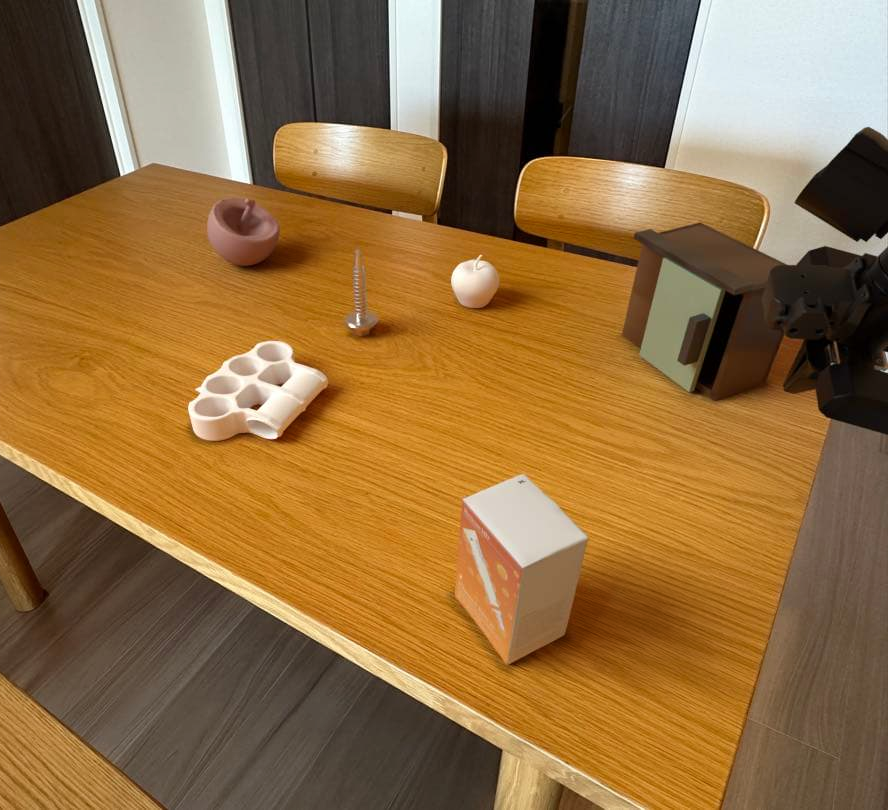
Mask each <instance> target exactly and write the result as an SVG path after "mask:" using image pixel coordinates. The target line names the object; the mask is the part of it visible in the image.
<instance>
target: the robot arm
mask: <svg viewBox="0 0 888 810" xmlns="http://www.w3.org/2000/svg"><path fill="white" fill-rule="evenodd" d="M794 204H795V205H796V206H798V207H800V208H802V209H803V210H805V211H806V212H807V213H809V214H811V215H813V216H814V217H815V218H817V219H819V220H821V221H822V222H824V223H826V224H827V225H829V226H830V227H832V228H834V229H835V230H836V231H838V232H840V233H842V234H843V235H845V236H846V237H848V238H849V239H851V240H853V241H855V242H856V243H858V242H860V241H864V242H865V243H868V242H869V241H870V239H871V238H873V236H875V237H877V238H878V239H880V240H882V239H883V238H884V237H885V236H886V235H887V234H888V138H887V137H886V136H885V135H884V134H882V133H881V132H879V131H878V130H875V129H874V128H872V127H870V126H866V127H863V128H862V129H861V130H859V131H857V132H856V133H855V134H854V135H853V137H852V138H851V139H850V140H849V141H848V143H847V144H846V145H845V146H844V147H843V148H842V149H841V150H840V151H839V152H837V154H836V155H835V156H834V157H833V158H832V159H831V160H830V161H829V162H828V164H826V166H824V167H823V168H822V169H820V170H819V171H818V172H816V173H815V175H813V176H812V178H811V179H810V180H809V181H808V182H807V184H806V185H805V186H804V188H802V190H801V192H800V193H799V194H798V196H797V197H796V199H795V200H794ZM762 302H763V307H764V322H765V324H766V326H767V327H769V328H770V329H773V330H778V331H784V336H785V337H786V338H787V339H791V340H803V341H802V343H801V346H800V348H799V350H798V352H797V354H796V356H795V358H794V360H793V363H792V365H791V367H790V369H789V371H788V373H787V375H786V377H785V378H784V381H783V383H782V388H783V392H784V393H788V394H791V395H797V394H801V393H806V392H810V391H814V390H815V395H816V402H817V408H818V411H819V412H820V413H821V414H822V415H823V416H824V417H825V418H827V419H830V420H834V421H836V422H839V423H840V422H841V423H844V424H847V425H852V426H855V427H859V428H861V429H866V430H869V431H872V432H876V433H878V434H879V433H880V434H883V435H887V436H888V372H887V371H888V358H887V353H888V246H886V248H884V249H883V250H882V252H880V253H879V254H878V255H875V254H871V253H866V252H865V253H863V254H862V255H861V254H858V253H857V254H856V253H853V252H849V251H845V250H842V249H838V248H834V247H831V246H827V245H824V246H820V247H817V248H813V249H809V250H808V251H807V252H805V254H804V256H803V257H801V258H800V260H799V261H798V262H797V263H796V264H787V265H778V266H775V267H773V268H772V269H771V271H770V274H769V277H768V280H767V283H766V286H765V290H764V293H763V296H762Z"/></svg>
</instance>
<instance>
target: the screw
mask: <svg viewBox="0 0 888 810" xmlns="http://www.w3.org/2000/svg"><path fill="white" fill-rule="evenodd" d="M353 253H354V254H353V255H354V257H353V265H352V274H351V275H352V280H353V281H352V284H353V285H352V291H353V306H354V308H353V309H354V311H351V312H349V313H348V314H347V315H345V317H344V320H343V322H344V325H345V327H346V328H348V329H350V330H352V335H354V336H357V337H360V338H362V337H366V336H370V333H371V331H372V329H373V328H374V327H376V326H377V325H378V324H379V317H378V314H376V313H375V312H372V311H370V310H368V305H367V304H368V301H367V300H368V298H367V295H368V294H367V292H368V290H367V278H366V277H367V274H366V272H367V271H366V270H365V269H366V266H365V265H364V259H363V253H362V251H361V249H359V248H357V249H354V250H353Z"/></svg>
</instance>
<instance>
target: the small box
mask: <svg viewBox="0 0 888 810" xmlns="http://www.w3.org/2000/svg"><path fill="white" fill-rule="evenodd" d="M460 511H461V513H460V514H461V515H460V525H459V536H458V552H457V563H456V576H455V585H454V586H455V589H454V597H455V599H456V600H457V602H459V603H460V604H461V606H462V607H463V608H464V610H465V611H466V612H467V614H468V615H469V616H470V617H471V619H472V620H473V621H474V623H475V624H476V625H477V626H478V628H479V629H480V630H481V632H482V633H483V635H484V636H485V638H487V640H488V641H489V643H490V644H491V646H492V647H493V648H494V649H495V651H496V653H497V654H498V655H499V657H500V658H501V659H502V661H503V662H504V663H505V665H507V666H509V665H511V664H513V663H514V662H516V661H518V660H520V659H522V658H524V657H525V656H528V655H529V654H531V653H533V652H535V651H537V650H539V649H541V648H543V647H545V646H547V645H549V644H550V643H552V642H554V641H556V640H558V639H560V638H562V637H564V636H565V635H566V631H567V627H568V623H569V620H570V616H571V612H572V608H573V604H574V600H575V596H576V591H577V587H578V583H579V579H580V575H581V572H582V571H581V570H582V567H583V563H584V559H585V555H586V551H587V547H588V544H589V539H590V538H589V536H588V535H587V533H585V531H584V530H583V529H581V527H580V526H579V525H577V524H576V522H575V521H574V520H572V519H571V518H570V517H569V515H568V514H567V513H565V511H564V510H563V509H562V508H561V507H560V506H559V504H557V502H555V501H554V499H552V498H551V497H550V496H549V495H548V494H547V493H545V492H544V491H543V490H542V489H541V488H540V487H539V486H538V485H537V484H536V483H535V482H533V481H532V480H531V479H530V478H529V476H527V474H525V473H520V474H519V475H517V476H514V477H511V478H509V479H506V480H504V481H501V482H499V483H496V484H494V485H492V486H490V487H488V488H485V489H483V490H480V491H478V492H475V493H474V494H471V495H469V496H467V497H465V498H462V500H461V510H460Z"/></svg>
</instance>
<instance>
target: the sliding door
mask: <svg viewBox="0 0 888 810" xmlns="http://www.w3.org/2000/svg"><path fill="white" fill-rule="evenodd" d="M725 292H726V290H724V289H722V288H720V287H718V286H717V285H715V284H713V283H711V282H710V281H708V280H706V279H704V278H702V277H701V276H699V275H697V274H695V273H694V272H692V271H690V270H688V269H687V268H685V267H683V266H681V265H679V264H678V263H676V262H674V261H672V260H671V259H669V258H667V257H665V258H663V261H662V265H661V269H660V273H659V277H658V281H657V285H656V289H655V293H654V297H653V301H652V305H651V309H650V314H649V318H648V322H647V326H646V330H645V334H644V338H643V342H642V346H641V349H640V351H639V353H638V355H639V357H641V358H642V359H643V360H645V361H646V362H647V363H649V364H650V365H652V366H653V367H654V368H655V369H657V370H658V371H659V372H661V373H663V375H665V376H666V377H667V378H669V379H671V380H672V381H673V382H674V383H676V385H678V386H679V387H681V388H682V389H684V390H685V391H687V392H688V393H691V392H694V391H695V389H696V387H695V386H696V383H697V380H698V376H699V373H700V370H701V367H702V364H703V361H704V358H705V354H706V351H707V348H708V345H709V342H710V339H711V336H712V332H713V329H714V326H715V323H716V320H717V317H718V314H719V310H720V307H721V304H722V301H723V298H724V295H725Z"/></svg>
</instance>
